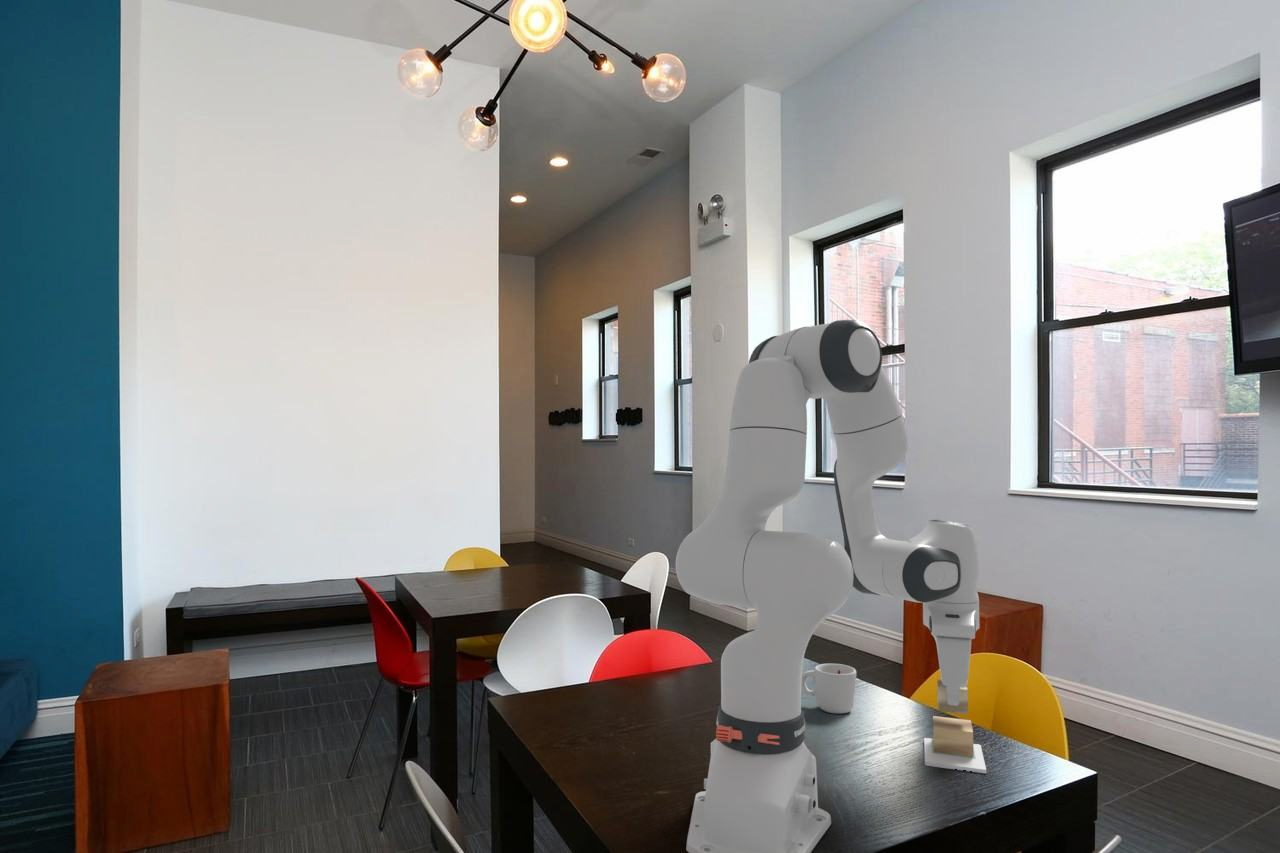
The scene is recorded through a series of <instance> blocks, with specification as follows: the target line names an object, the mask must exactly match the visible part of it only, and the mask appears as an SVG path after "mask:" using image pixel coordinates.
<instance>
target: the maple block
mask: <svg viewBox="0 0 1280 853" xmlns="http://www.w3.org/2000/svg"><path fill="white" fill-rule="evenodd" d="M936 681H937V682H936V684H937V686H936V687H937V689H936V690H937V692H936V695H937V708H938V712H943V713H952V714H961V715H969V698H968V696H969V694H968V693H969V691H968V686H967V685H968V684H967V685H966V687H960V691H959V705H958V706H954V705H949V704H948V703H947V689H946V686H945V685H943V683H942V679H941V678H940V679H939V678H938V679H936Z"/></svg>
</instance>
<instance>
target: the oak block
mask: <svg viewBox="0 0 1280 853" xmlns="http://www.w3.org/2000/svg"><path fill="white" fill-rule="evenodd" d="M932 731H933V732H932V734H933V735H932V739H933V742H934V752H937V753H945V754H952V755H960V756H968V757H974V752H973V744H974V729H973V724H972V720H970V719H961V718H954V717H944V716H936V715H932Z"/></svg>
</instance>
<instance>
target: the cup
mask: <svg viewBox="0 0 1280 853" xmlns="http://www.w3.org/2000/svg"><path fill="white" fill-rule="evenodd" d="M807 677H811V678H812V679H813V683H814V689H809V688H808V686H807V683H806V679H807ZM856 681H857V670H856V669H855V667H852V666H850V665H846V664H841V663H821V664H817V665H815V667H814V669H813V670H808V671H805V672H802V684H801V690H803V692H804V693H805V694H807V695H809V696H813V697H816V699H817V703H818V706H819V708H820V709H821V710H822V711H824V712H827V713H830V714H836V715H837V714H841V715H842V714H847V713H849V712H851V711H852V710H853V707H854V702H855V691H856Z"/></svg>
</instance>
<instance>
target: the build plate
mask: <svg viewBox="0 0 1280 853" xmlns="http://www.w3.org/2000/svg"><path fill="white" fill-rule="evenodd" d="M923 744H924V745H923V746H924V749H923V750H924V752H923V753H924V766H926V767H927V766H928V767H935V768H942V769H949V770H950V769H951V770H955V769H957V771H963V770H966V771H965V772H970V771H972V772H971V773H977V774H978V773H979V774H987V766H986V762H985V758H984V753H983V749H982V745H981V744H978V743H973V752H974V757H968V756H960V755H952V754H945V753H937V752H934V742H933V738H929V737H924V738H923Z"/></svg>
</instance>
